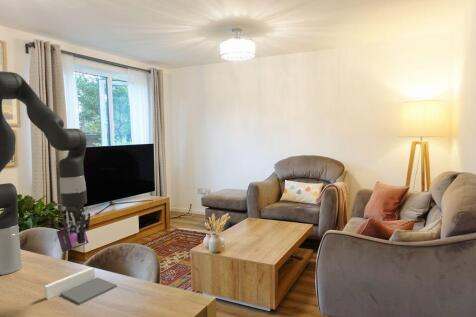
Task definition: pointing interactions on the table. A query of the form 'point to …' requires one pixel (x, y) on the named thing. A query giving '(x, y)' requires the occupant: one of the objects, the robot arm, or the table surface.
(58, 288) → the low wall
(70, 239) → the purple framed toy figure
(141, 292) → the table surface
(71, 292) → the rubber mat
